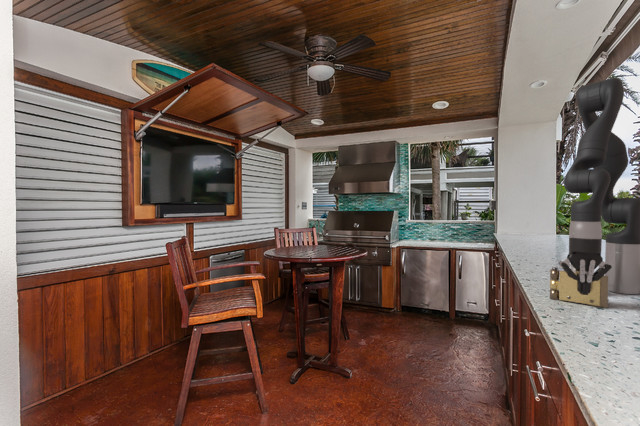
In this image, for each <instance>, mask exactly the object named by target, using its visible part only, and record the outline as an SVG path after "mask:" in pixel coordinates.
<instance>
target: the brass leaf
mask: <svg viewBox="0 0 640 426" xmlns="http://www.w3.org/2000/svg"><path fill="white" fill-rule="evenodd" d="M575 274H576V273H575ZM550 289H553V290H559V301H561V300H566V301H565V302H567V301H572V302H571V303H573V302H578V303H577V304H579V303H584V304H583V305H585V304H590V305H589V306H591V305H596V306H595V307H597V306H600V280H598V281H593V282H591V292H590V293H588V295H582V294H580V293H579V292H578V291H577V280H574V279H573V278H570V277H569V275H568V274H567V273H566V272H565V271H564V270H562V271H561V270H559V280H553V279H550V278H549V290H550Z"/></svg>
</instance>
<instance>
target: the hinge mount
mask: <svg viewBox="0 0 640 426" xmlns="http://www.w3.org/2000/svg"><path fill="white" fill-rule="evenodd" d="M549 271H550V273H549V280H550V279H553V280H559V281H560V271H563V269H561V270H559V269H558V267H557V266H552V267H551V268H550V270H549ZM574 273H576V272H574ZM608 298H609V291H608V276H605V275H604V276H603V277H602V278H601V279H600V306H596V305H590V304H586V305H587V306H592V307H599V308H605V309H608V307H609V300H610V299H608ZM549 299H550V300H554V301H558V300H559V301H563V302H567V301H566V300H560V299H559V290H553V289H550V288H549ZM567 303H573V302H572V301H568V302H567ZM575 304H579V303H578V302H575ZM581 304H582V305H585V304H584V303H581Z"/></svg>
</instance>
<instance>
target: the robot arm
mask: <svg viewBox="0 0 640 426" xmlns="http://www.w3.org/2000/svg"><path fill="white" fill-rule="evenodd" d="M624 94H625V90H624V85H623V82H622V81H621V79H620V78H619V77H612V78H607V79H603V80H600V81H595V82H592V83H589V84H585V85H582V86H580V87H579V88H578V89H577V91H576V94H575V95H576V96H575V97H576V106H577V108H578V112H579V116H580V118H581V121H582V124H583V128H584V133H583V134H582V135H581V137H580V139H579V142H578V144H577V150H576V151H577V152H576V156H575V159H574V160H573V162H572V164H571V166H569V167H570V168H569V169H568V171H567V172H566V174H565V176H564V179H563V187H564V190H565V191H566V192H568V193H570V194H591V196H590V197H589V198H588V199H585V200H578V201H574V202H572V204H571V206H570V224H569V229H568V231H569V232H568V234H569V235H568V254H567V256H566V259H564V260H562V261H561V260H560V261H558V265H559V266H560V268H561V269H562V271H565V272H566V273H567V274H568V275H569V277H570V278H573V279H574V280H577V291H578V292H579V293H580V294H582V295H588V293H590V292H591V282H593V281H598V280H600V279H601V278H602V277H603V276H604V275H605V276H608V292H613V293H616V294H623V295H624V294H625V295H640V198H639V197H615V196H614V189H615V186H616V184H617V182H618V181H619V179H620V178H621V177H622V175H623V174H624V173H625V170H626V169H627V167H628V165H629V157H628V152H627V147H626V146H627V145H626V143H625V142H624V140H622V139H621V137H619V136H618V135H616V134H615V133H613V131H612V130H613V128H614V126H615V123H616V120H617V118H618V116H619V112H620V110H621V107H622V104H623V102H624V97H625V96H624ZM597 112H601V114H600V115H597ZM602 220H603V222H605V223H608V224H616V225H617V224H620V225H625V228H623V229H622V230H619V231H617V232H611V233H608V234H606V236H605V249H604V250H605V253H604V254H605V255H604V256H605V257H604V259H605V260H604V259H603V257H602V243H603V241H602V240H603V238H602V237H603V228H602ZM603 260H604V261H603ZM571 265H572V266H573V267H574V268H575V272H576V274H575V273H574V272H573V271H572V270H571Z"/></svg>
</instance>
